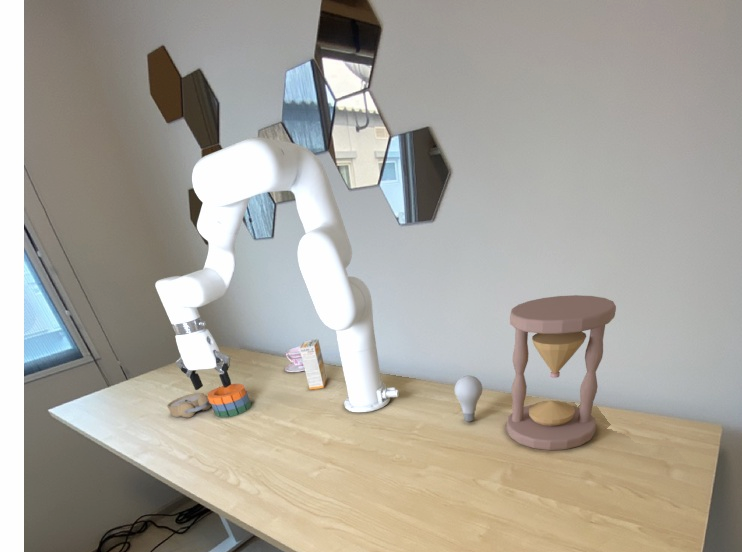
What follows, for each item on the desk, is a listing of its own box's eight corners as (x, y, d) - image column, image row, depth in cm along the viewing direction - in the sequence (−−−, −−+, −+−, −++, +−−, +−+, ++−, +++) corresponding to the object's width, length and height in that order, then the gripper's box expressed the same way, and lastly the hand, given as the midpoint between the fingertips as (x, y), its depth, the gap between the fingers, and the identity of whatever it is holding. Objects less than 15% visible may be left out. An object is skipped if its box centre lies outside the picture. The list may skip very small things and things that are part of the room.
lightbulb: (485, 416, 97) (485, 371, 90) (478, 428, 92) (478, 382, 86) (460, 414, 99) (458, 371, 93) (452, 426, 95) (450, 381, 89)
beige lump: (194, 391, 133) (213, 390, 122) (201, 405, 135) (221, 406, 125) (161, 405, 126) (178, 405, 116) (169, 419, 129) (187, 421, 118)
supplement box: (324, 388, 127) (314, 346, 119) (309, 390, 127) (298, 348, 120) (327, 378, 133) (318, 338, 126) (313, 380, 134) (303, 340, 127)
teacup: (322, 359, 151) (318, 343, 148) (311, 371, 142) (307, 354, 138) (292, 362, 154) (287, 345, 150) (280, 374, 144) (275, 356, 141)
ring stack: (257, 401, 126) (253, 388, 124) (240, 416, 118) (236, 403, 115) (227, 402, 129) (222, 390, 126) (209, 418, 120) (203, 405, 118)
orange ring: (252, 388, 124) (249, 382, 123) (235, 403, 115) (233, 397, 114) (221, 390, 126) (218, 384, 125) (203, 405, 118) (200, 399, 117)
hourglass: (600, 415, 89) (621, 293, 75) (588, 456, 77) (610, 320, 63) (518, 408, 98) (523, 296, 84) (496, 444, 86) (498, 321, 72)
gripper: (223, 320, 111) (245, 380, 121) (170, 327, 115) (195, 384, 125) (208, 328, 105) (232, 390, 115) (153, 334, 110) (181, 394, 119)
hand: (213, 387), depth 120 cm, fingers open, 9 cm apart
